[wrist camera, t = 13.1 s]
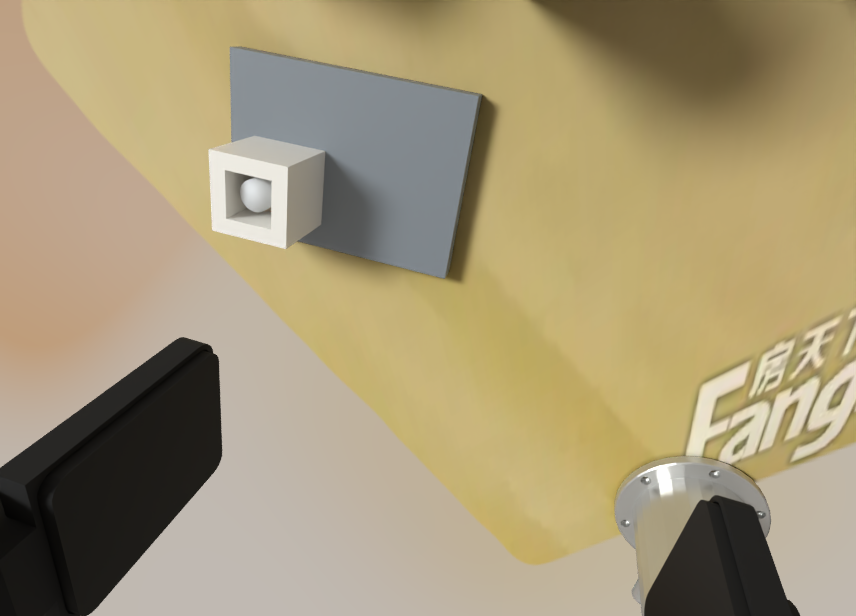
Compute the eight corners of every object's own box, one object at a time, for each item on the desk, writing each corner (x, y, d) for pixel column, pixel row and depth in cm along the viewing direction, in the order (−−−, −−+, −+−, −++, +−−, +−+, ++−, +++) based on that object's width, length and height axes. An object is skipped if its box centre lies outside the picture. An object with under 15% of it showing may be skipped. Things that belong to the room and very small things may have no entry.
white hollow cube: (254, 135, 43) (208, 149, 38) (325, 150, 42) (288, 167, 37) (255, 208, 46) (212, 230, 41) (321, 224, 45) (286, 249, 40)
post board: (448, 271, 45) (428, 305, 40) (242, 219, 48) (196, 243, 43) (482, 94, 39) (464, 103, 33) (240, 46, 42) (186, 48, 36)
